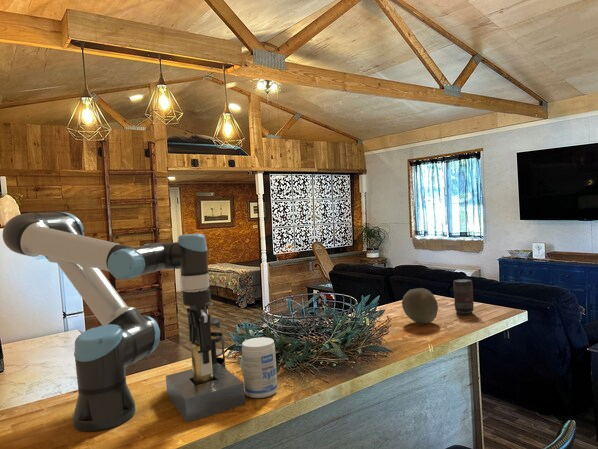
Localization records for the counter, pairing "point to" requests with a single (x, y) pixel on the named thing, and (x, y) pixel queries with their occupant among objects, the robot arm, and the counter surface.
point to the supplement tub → (259, 367)
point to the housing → (205, 393)
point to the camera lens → (463, 297)
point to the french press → (216, 352)
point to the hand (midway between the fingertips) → (202, 370)
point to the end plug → (196, 365)
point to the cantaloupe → (420, 305)
